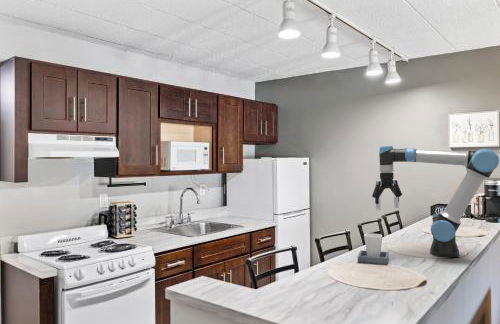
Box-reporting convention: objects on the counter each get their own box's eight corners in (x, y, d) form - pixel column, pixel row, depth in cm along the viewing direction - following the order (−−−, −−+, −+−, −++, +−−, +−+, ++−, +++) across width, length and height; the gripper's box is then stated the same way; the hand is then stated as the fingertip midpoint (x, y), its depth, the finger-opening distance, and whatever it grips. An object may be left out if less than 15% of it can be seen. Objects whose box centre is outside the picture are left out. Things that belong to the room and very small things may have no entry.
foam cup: (383, 261, 206) (383, 237, 206) (365, 260, 208) (365, 236, 208) (381, 256, 215) (380, 233, 215) (364, 256, 217) (363, 233, 217)
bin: (388, 258, 216) (388, 252, 216) (387, 265, 202) (387, 258, 202) (360, 256, 221) (360, 250, 221) (357, 263, 207) (357, 256, 207)
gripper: (398, 171, 233) (399, 206, 233) (365, 172, 223) (366, 209, 223) (407, 171, 226) (408, 207, 226) (374, 173, 216) (375, 211, 216)
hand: (387, 208), depth 224 cm, fingers open, 13 cm apart
